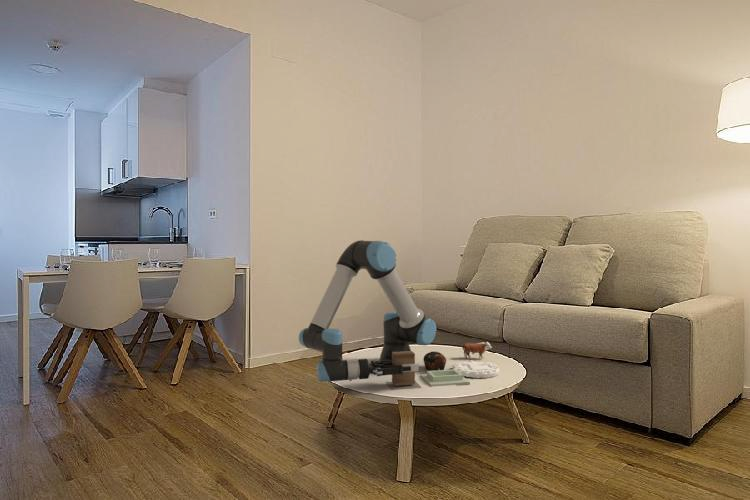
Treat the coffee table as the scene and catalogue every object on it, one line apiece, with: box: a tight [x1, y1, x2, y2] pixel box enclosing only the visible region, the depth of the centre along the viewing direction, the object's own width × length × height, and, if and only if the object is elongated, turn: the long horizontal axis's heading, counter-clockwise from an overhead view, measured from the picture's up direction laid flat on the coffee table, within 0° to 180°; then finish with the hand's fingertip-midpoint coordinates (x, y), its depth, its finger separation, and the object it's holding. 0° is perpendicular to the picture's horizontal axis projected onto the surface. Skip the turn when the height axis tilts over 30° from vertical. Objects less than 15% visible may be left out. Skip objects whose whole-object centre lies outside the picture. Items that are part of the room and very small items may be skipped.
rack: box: [420, 369, 471, 387], centre depth 209 cm, size 14×16×3 cm
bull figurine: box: [462, 341, 493, 360], centre depth 243 cm, size 4×13×8 cm, turn 81°
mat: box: [385, 380, 422, 391], centre depth 203 cm, size 10×12×1 cm
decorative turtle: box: [423, 350, 447, 371], centre depth 225 cm, size 10×15×8 cm, turn 23°
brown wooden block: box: [391, 350, 416, 386], centre depth 202 cm, size 4×8×12 cm, turn 102°
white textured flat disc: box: [451, 359, 501, 379], centre depth 221 cm, size 20×20×3 cm
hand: (416, 365), depth 203 cm, fingers closed on brown wooden block, 4 cm apart
